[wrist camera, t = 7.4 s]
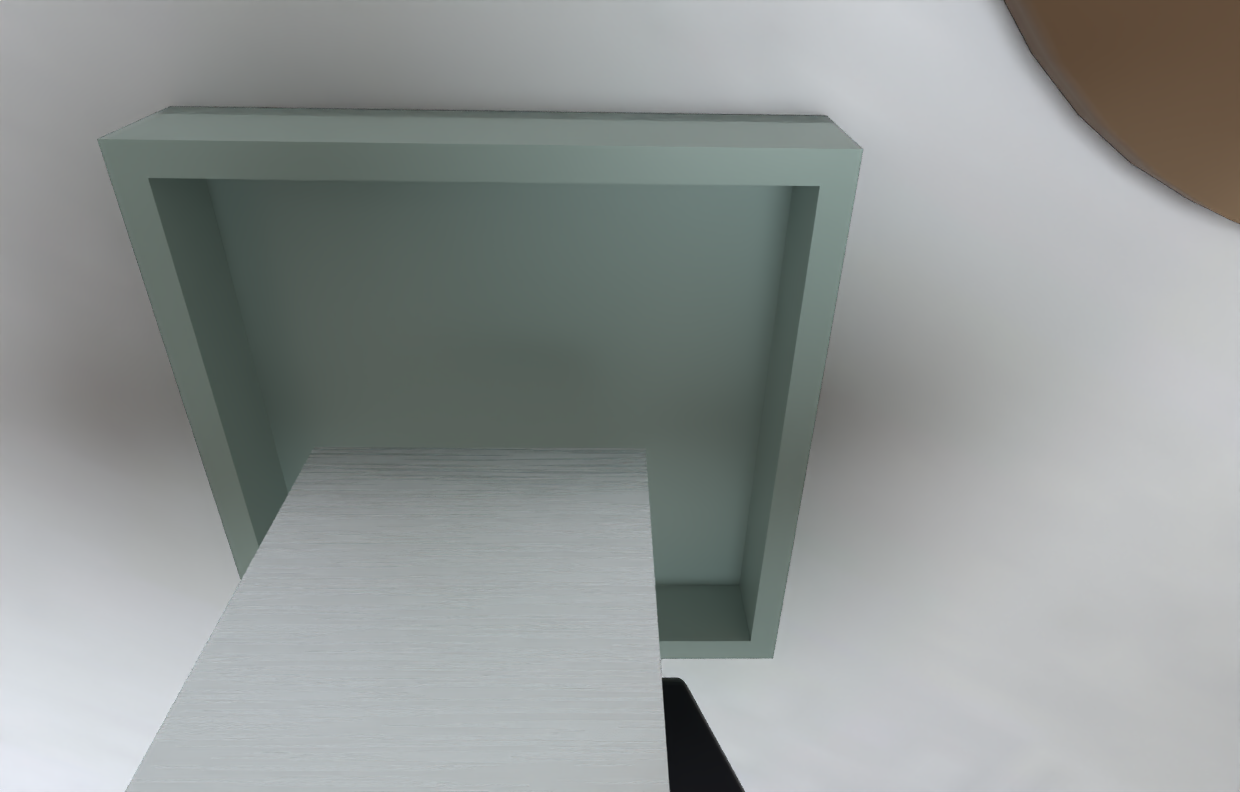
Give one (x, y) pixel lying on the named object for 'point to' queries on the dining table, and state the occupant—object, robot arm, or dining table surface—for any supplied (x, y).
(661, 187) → the tray
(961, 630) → the dining table surface
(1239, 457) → the dining table surface
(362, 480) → the block
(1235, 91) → the base
